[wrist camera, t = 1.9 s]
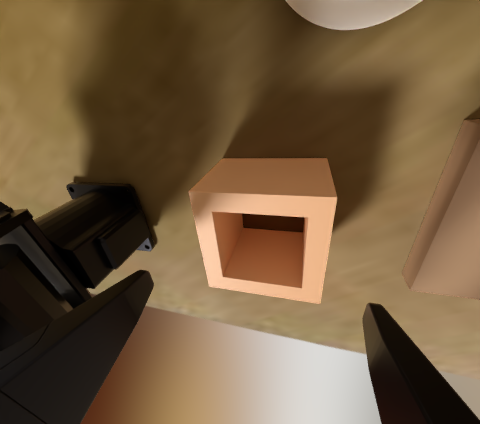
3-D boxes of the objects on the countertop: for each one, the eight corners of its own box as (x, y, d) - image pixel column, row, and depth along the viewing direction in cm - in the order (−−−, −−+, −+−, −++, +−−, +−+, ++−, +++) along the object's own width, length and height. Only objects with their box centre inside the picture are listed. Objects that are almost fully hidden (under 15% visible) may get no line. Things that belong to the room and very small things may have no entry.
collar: (232, 237, 18) (209, 286, 13) (222, 158, 14) (188, 191, 10) (316, 245, 16) (320, 304, 12) (327, 158, 13) (337, 197, 9)
